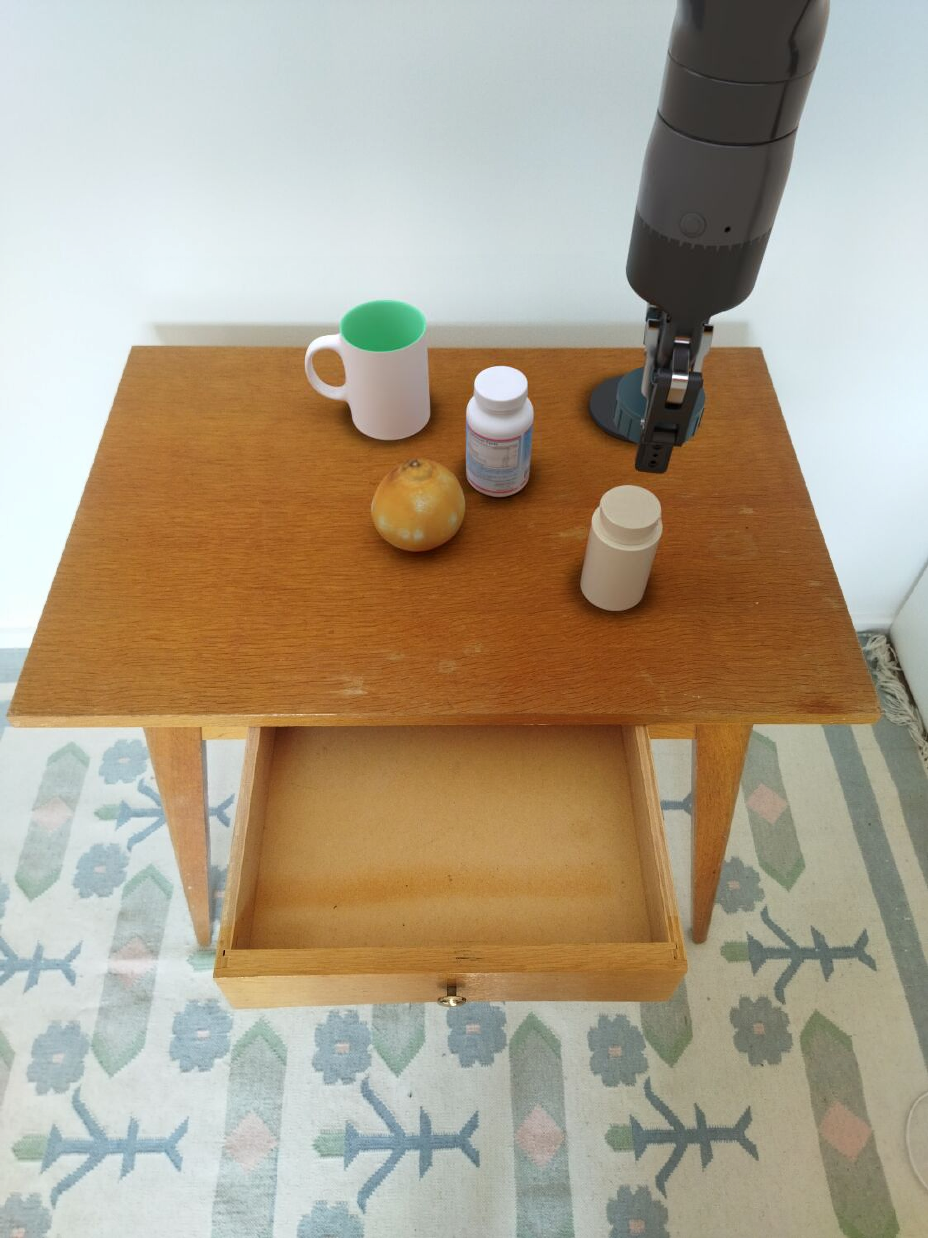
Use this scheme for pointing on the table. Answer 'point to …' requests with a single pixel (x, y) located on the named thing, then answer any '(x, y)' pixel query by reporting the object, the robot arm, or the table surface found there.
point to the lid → (643, 407)
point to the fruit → (418, 505)
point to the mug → (380, 368)
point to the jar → (621, 547)
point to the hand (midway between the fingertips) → (651, 436)
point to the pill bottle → (499, 432)
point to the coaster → (605, 406)
